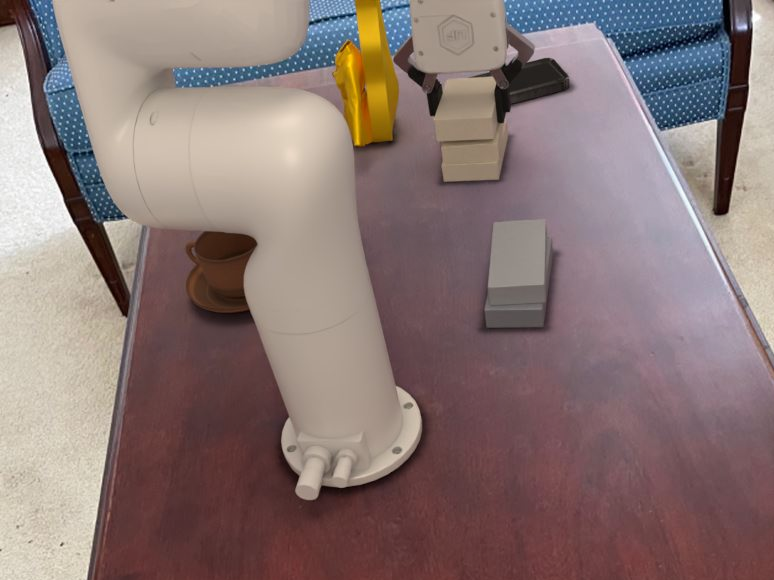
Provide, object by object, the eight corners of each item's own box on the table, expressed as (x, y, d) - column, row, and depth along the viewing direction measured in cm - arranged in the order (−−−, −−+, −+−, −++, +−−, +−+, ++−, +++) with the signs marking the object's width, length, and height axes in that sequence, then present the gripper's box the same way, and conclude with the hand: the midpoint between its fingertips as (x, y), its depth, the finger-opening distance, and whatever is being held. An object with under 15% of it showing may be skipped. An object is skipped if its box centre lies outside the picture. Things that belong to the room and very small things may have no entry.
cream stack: (501, 179, 110) (497, 144, 107) (441, 182, 111) (436, 147, 108) (510, 134, 117) (507, 100, 113) (454, 137, 118) (449, 103, 115)
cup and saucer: (180, 327, 98) (158, 279, 94) (204, 260, 106) (186, 212, 102) (291, 318, 97) (275, 269, 92) (308, 250, 105) (293, 202, 100)
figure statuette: (346, 107, 127) (306, -72, 111) (403, 97, 127) (371, -83, 111) (346, 174, 115) (301, -15, 99) (410, 164, 115) (375, -27, 99)
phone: (571, 79, 122) (461, 107, 120) (572, 88, 122) (462, 116, 121) (551, 55, 127) (445, 82, 125) (551, 64, 128) (446, 90, 126)
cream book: (493, 139, 106) (491, 117, 104) (436, 141, 107) (433, 120, 105) (503, 97, 112) (501, 75, 111) (449, 100, 114) (447, 78, 112)
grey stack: (546, 327, 91) (543, 290, 88) (483, 328, 92) (478, 291, 89) (555, 254, 99) (553, 217, 95) (497, 255, 100) (493, 219, 97)
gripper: (362, -25, 96) (393, 138, 109) (531, -39, 93) (542, 132, 106) (377, -53, 101) (405, 107, 114) (538, -66, 98) (548, 100, 111)
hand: (471, 118), depth 110 cm, fingers closed on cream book, 6 cm apart
